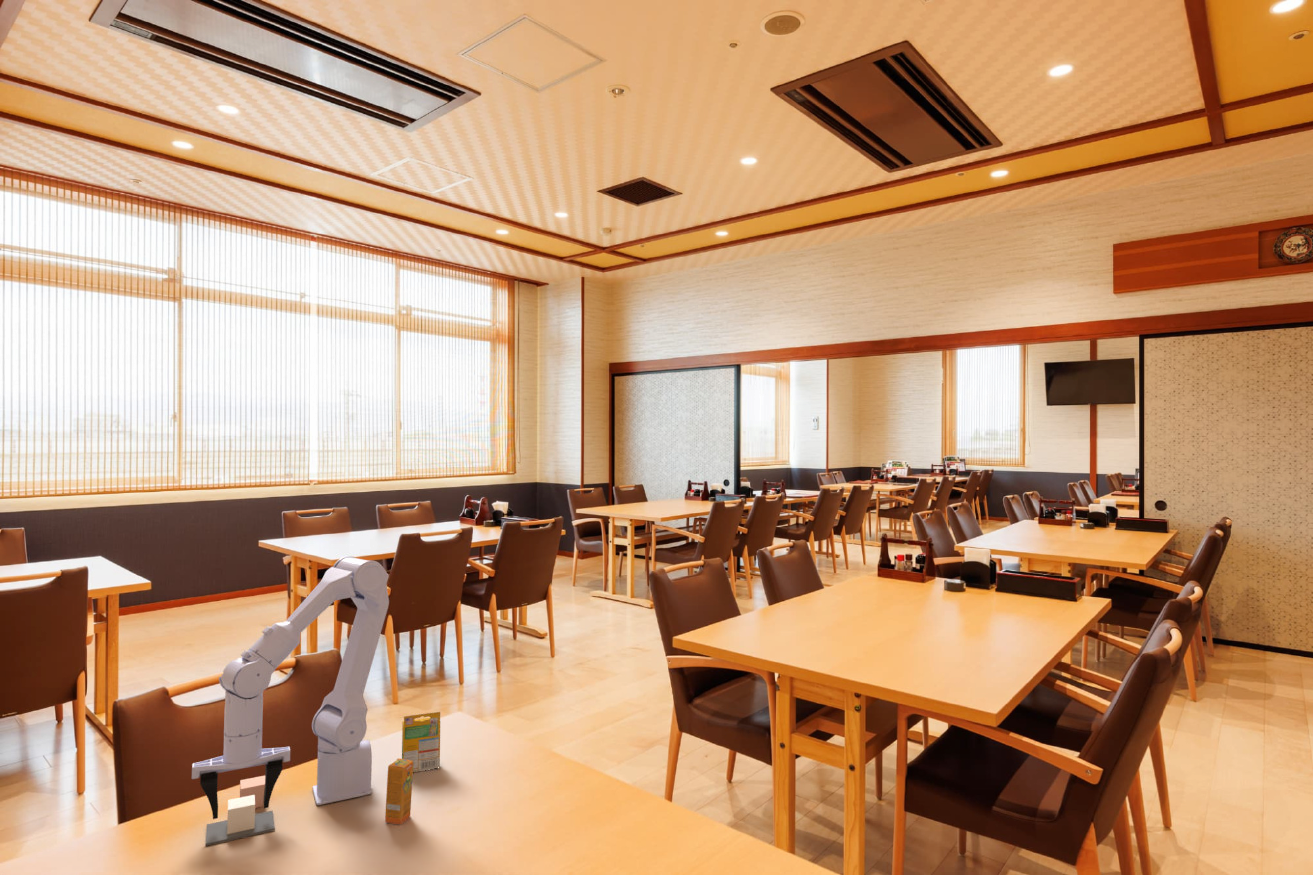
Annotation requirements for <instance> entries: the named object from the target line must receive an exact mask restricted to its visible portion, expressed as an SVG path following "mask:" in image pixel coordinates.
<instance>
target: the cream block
mask: <svg viewBox="0 0 1313 875" xmlns="http://www.w3.org/2000/svg"><path fill="white" fill-rule="evenodd" d="M255 814H256V808H255V795H251V796H246V797H241V798H240V797H237V798H231V799H228V800H227V819H226V820H227V834H230V833H235V832H240V831H244V830H249V829H253V828H255Z"/></svg>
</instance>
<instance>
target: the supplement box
mask: <svg viewBox="0 0 1313 875" xmlns="http://www.w3.org/2000/svg"><path fill="white" fill-rule="evenodd" d="M413 775H414V773H413V761H411V760H406V759H402V758H397V759H396V760H394V762H392V763H390V764H389V765H388V766H387V778H386V779H387V782H386V794H385V796H386V798H385V799H386V800H385V814H384V815H385V816H384V817H385V820H384V822H385V823H386V824H391V825H399V826H400V825H402V824H404V823H405V822H406V821H407V820H408V819H409V818H410V817H411V809H412V793H413V792H412V791H413Z"/></svg>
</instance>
